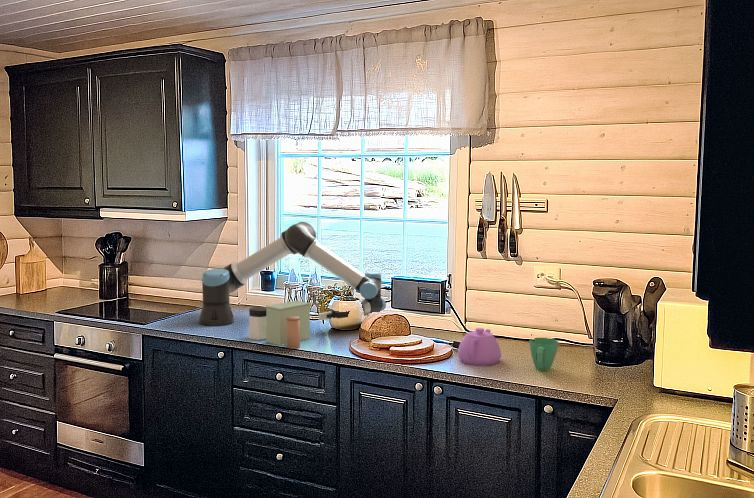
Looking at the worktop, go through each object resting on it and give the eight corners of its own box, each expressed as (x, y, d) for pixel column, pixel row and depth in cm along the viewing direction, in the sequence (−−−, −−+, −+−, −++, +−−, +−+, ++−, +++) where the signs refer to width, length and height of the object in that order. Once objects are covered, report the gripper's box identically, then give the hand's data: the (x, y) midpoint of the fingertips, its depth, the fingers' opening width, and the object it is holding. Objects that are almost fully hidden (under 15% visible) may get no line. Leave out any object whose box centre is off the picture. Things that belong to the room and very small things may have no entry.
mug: (530, 363, 249) (531, 336, 248) (558, 366, 246) (559, 339, 245) (524, 374, 235) (525, 346, 234) (554, 378, 232) (555, 348, 231)
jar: (253, 341, 278) (253, 311, 277) (245, 336, 284) (245, 308, 283) (274, 338, 283) (273, 309, 282) (265, 334, 290) (265, 305, 288)
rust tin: (283, 347, 269) (283, 317, 267) (293, 344, 273) (293, 315, 271) (292, 349, 265) (292, 319, 264) (302, 346, 269) (302, 317, 268)
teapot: (491, 371, 239) (492, 337, 238) (448, 365, 246) (449, 332, 245) (508, 356, 259) (509, 324, 258) (468, 351, 266) (469, 320, 264)
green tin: (265, 342, 276) (265, 306, 275) (296, 335, 289) (296, 300, 287) (279, 345, 271) (279, 308, 269) (310, 338, 283) (310, 303, 282)
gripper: (368, 319, 305) (330, 328, 288) (347, 315, 314) (309, 323, 296) (369, 302, 304) (330, 310, 287) (347, 298, 313) (309, 306, 295)
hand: (319, 316), depth 292 cm, fingers closed
